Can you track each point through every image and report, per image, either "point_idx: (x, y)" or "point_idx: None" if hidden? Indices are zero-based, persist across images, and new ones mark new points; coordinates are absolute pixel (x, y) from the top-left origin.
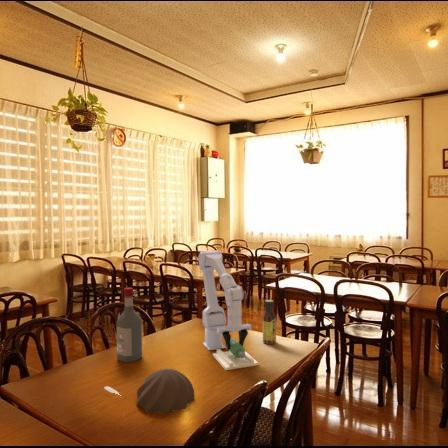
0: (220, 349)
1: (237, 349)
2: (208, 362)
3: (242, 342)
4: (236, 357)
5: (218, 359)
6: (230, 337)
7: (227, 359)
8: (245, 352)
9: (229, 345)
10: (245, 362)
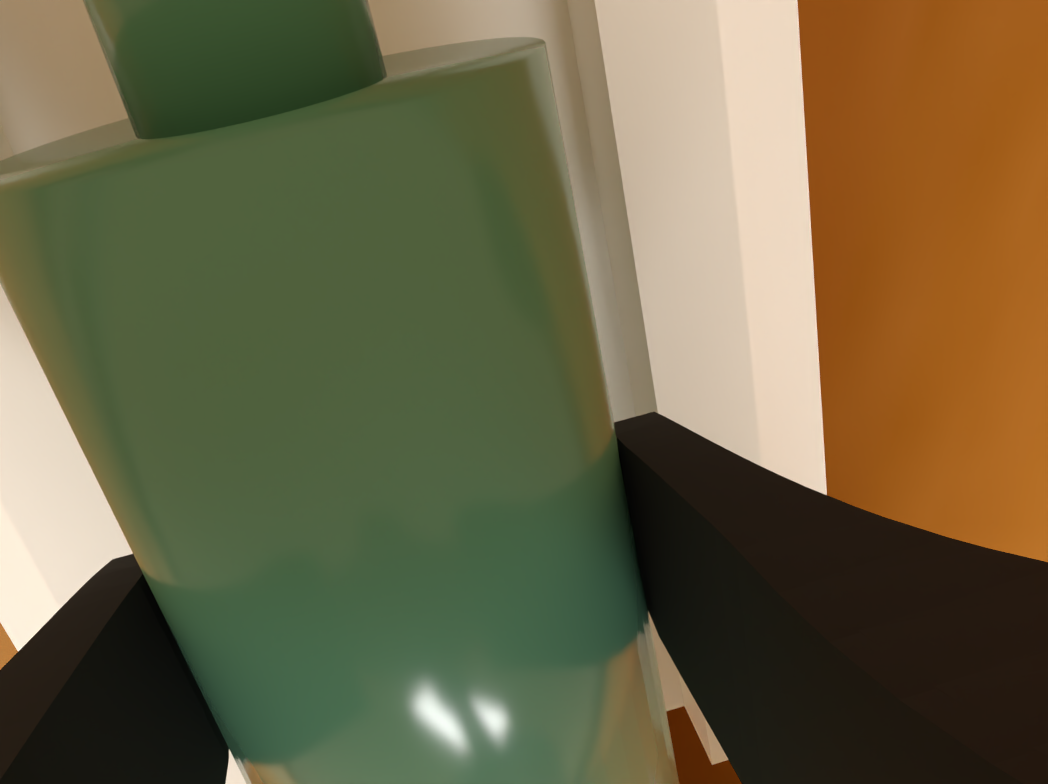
0: (709, 738)
1: (354, 99)
2: (993, 311)
3: (33, 689)
4: (391, 56)
5: (812, 340)
6: (896, 693)
7: (682, 79)
8: (56, 566)
9: (693, 474)
10: (86, 38)
